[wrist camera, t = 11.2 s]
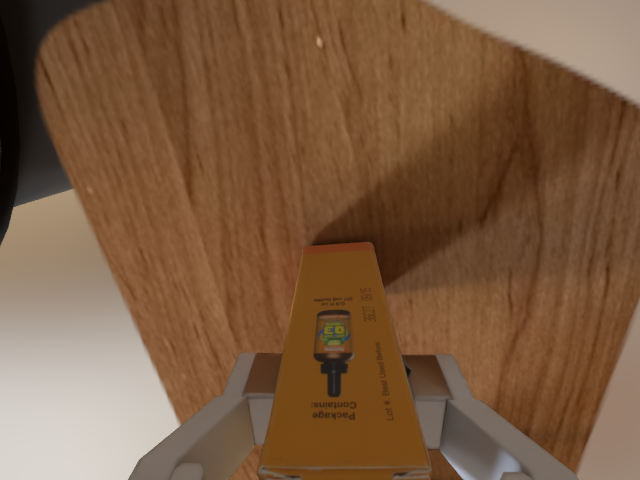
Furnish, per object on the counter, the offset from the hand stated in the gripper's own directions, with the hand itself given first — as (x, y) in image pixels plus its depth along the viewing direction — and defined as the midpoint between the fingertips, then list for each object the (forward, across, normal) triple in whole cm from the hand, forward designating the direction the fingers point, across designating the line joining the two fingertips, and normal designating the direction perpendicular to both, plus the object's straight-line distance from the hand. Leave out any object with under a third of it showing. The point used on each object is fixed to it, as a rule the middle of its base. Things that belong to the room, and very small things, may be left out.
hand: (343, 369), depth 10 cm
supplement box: (+6, 0, 0) cm, 6 cm away
